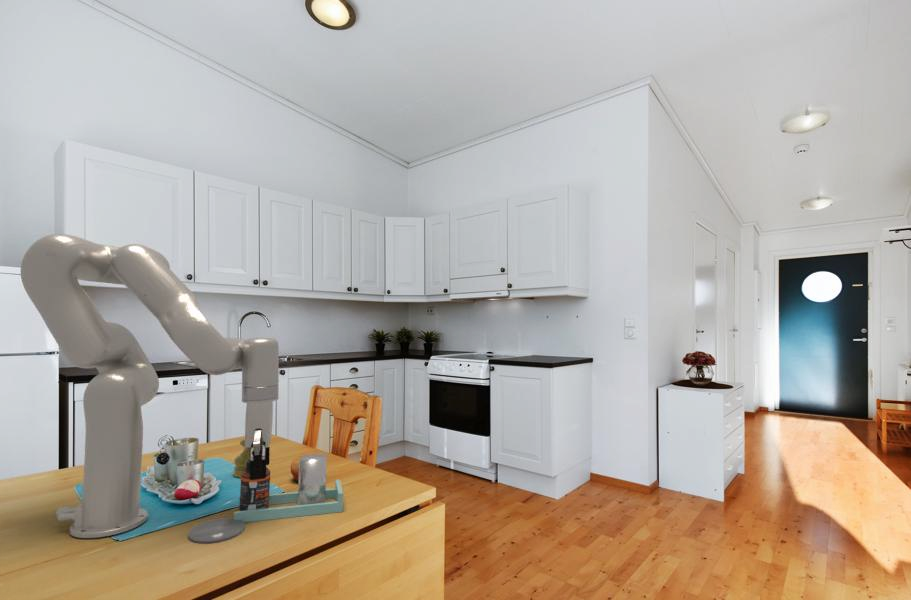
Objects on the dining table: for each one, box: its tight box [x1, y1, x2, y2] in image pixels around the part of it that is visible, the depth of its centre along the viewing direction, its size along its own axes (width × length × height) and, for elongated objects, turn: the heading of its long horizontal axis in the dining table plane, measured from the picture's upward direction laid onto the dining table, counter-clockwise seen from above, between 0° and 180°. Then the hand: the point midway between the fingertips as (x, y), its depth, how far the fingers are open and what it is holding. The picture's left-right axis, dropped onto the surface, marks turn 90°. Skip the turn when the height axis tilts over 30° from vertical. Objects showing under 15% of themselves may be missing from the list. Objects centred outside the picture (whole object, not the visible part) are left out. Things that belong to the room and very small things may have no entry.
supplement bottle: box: [238, 459, 271, 511], centre depth 101 cm, size 6×6×11 cm
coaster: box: [187, 517, 246, 544], centre depth 91 cm, size 10×10×1 cm
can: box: [297, 453, 328, 505], centre depth 105 cm, size 6×6×11 cm
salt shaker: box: [233, 438, 252, 479], centre depth 126 cm, size 7×7×10 cm
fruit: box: [290, 452, 317, 482], centre depth 123 cm, size 8×8×8 cm
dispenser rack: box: [233, 479, 344, 523], centre depth 103 cm, size 22×10×4 cm, turn 108°
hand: (260, 471), depth 101 cm, fingers open, 9 cm apart
